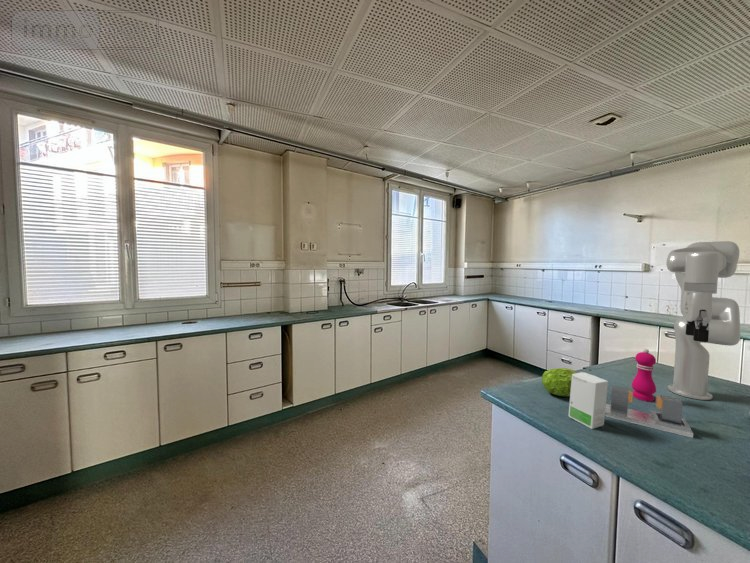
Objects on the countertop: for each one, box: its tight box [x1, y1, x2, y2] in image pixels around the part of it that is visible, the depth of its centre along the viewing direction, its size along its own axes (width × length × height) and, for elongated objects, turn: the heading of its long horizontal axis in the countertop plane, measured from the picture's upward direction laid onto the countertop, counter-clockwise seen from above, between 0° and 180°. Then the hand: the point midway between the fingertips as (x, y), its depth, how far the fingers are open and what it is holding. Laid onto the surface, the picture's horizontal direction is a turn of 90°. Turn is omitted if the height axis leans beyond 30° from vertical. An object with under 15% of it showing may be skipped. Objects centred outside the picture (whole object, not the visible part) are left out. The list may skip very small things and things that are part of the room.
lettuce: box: [541, 367, 578, 397], centre depth 123 cm, size 12×24×13 cm
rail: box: [605, 384, 694, 439], centre depth 99 cm, size 8×22×10 cm, turn 54°
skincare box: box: [568, 371, 609, 430], centre depth 99 cm, size 8×7×16 cm
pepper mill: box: [631, 348, 657, 402], centre depth 116 cm, size 7×7×20 cm
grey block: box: [655, 394, 684, 425], centre depth 96 cm, size 6×4×8 cm
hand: (696, 338), depth 99 cm, fingers open, 9 cm apart
